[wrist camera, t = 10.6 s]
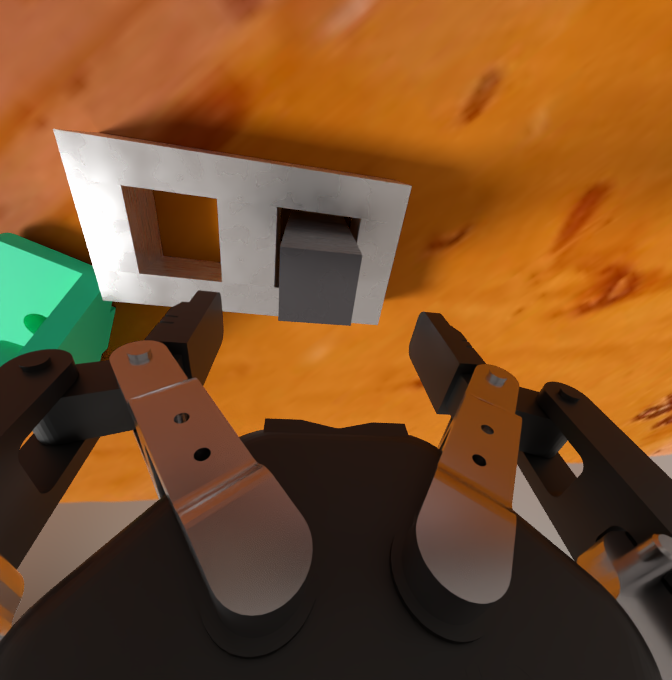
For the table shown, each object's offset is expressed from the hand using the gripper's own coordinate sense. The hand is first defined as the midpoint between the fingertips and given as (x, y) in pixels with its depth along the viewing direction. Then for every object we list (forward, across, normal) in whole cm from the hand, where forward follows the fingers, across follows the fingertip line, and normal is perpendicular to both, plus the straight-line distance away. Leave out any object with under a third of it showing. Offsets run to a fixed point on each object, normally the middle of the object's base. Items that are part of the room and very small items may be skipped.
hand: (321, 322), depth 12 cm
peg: (+14, 0, 0) cm, 14 cm away
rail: (+14, +4, 0) cm, 15 cm away
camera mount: (+14, +21, +9) cm, 27 cm away
